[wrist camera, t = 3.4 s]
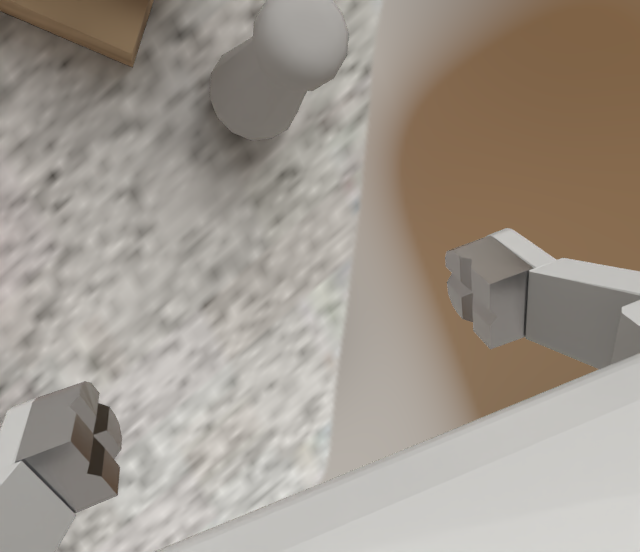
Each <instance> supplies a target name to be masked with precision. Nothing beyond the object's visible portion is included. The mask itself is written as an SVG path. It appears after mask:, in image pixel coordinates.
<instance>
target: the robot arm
mask: <svg viewBox="0 0 640 552" xmlns="http://www.w3.org/2000/svg"><path fill="white" fill-rule="evenodd" d="M445 260H446V267H447V268H448V269H449V270H450V271H451V272H452V274H451V276H450V278H449V279H448V282H447V285H448V294H449V297H450V300H451V303H452V305H453V307H454V308H455V310H456V312H457V313H458V314H459V315H460V316H461V318H462V319H465V320H468V321H471V322H473V329H474V332H475V333H476V334H477V335H478V336H479V337H480V339H482V341H483V342H484V343H485V344H486V345H487V346H488V347H489V348H490V349H493V348H495V347H498V346H501V345H504V344H506V343H509V342H512V341H515V340H517V339H520V338H523V337H526V339H528V340H530V341H533V342H535V343H538V344H540V345H542V346H545V347H547V348H550V349H552V350H554V351H557V352H559V353H562V354H564V355H567V356H569V357H571V358H574V359H576V360H579V361H581V362H583V363H586V364H588V365H591V366H593V367H596V368H598V369H599V370H597V371H595V372H592V373H589V374H587V375H584V376H582V377H580V378H577V379H575V380H573V381H570V382H567V383H565V384H563V385H560V386H558V387H555V388H553V389H550V390H548V391H545V392H543V393H541V394H538V395H536V396H533V397H531V398H528V399H526V400H523V401H521V402H519V403H516V404H514V405H511V406H509V407H506V408H504V409H501V410H499V411H497V412H494V413H492V414H489V415H487V416H484V417H482V418H479V419H477V420H475V421H472V422H470V423H467V424H465V425H462V426H460V427H457V428H455V429H453V430H451V431H448V432H445V433H443V434H440V435H438V436H436V437H433V438H431V439H428V440H426V441H423V442H421V443H419V444H416V445H413V446H411V447H409V448H406V449H404V450H401V451H399V452H396V453H394V454H392V455H389V456H387V457H384V458H382V459H379V460H377V461H374V462H372V463H369V464H367V465H365V466H362V467H360V468H357V469H355V470H352V471H350V472H348V473H345V474H343V475H340V476H338V477H335V478H333V479H330V480H328V481H326V482H323V483H321V484H318V485H316V486H313V487H311V488H308V489H306V490H304V491H301V492H299V493H296V494H294V495H291V496H289V497H286V498H284V499H282V500H279V501H277V502H274V503H272V504H269V505H267V506H264V507H262V508H260V509H257V510H255V511H252V512H250V513H247V514H245V515H243V516H240V517H238V518H235V519H233V520H230V521H228V522H225V523H223V524H221V525H218V526H216V527H213V528H211V529H208V530H206V531H203V532H201V533H199V534H196V535H194V536H191V537H189V538H186V539H184V540H181V541H179V542H177V543H174V544H172V545H169V546H167V547H164V548H162V549H160V550H157V551H155V552H640V272H638V271H633V270H627V269H622V268H616V267H611V266H605V265H599V264H594V263H588V262H583V261H577V260H572V259H567V258H561V259H559V260H556V259H555V258H553V257H551V256H550V255H549V254H547V253H546V252H544V251H543V250H542V249H540V248H539V247H537V246H536V245H534V244H533V243H531V242H530V241H529V240H527V239H526V238H524V237H523V236H521V235H520V234H518V233H517V232H516V231H514V230H512V229H509V228H506V229H503V230H500V231H498V232H495V233H493V234H490V235H488V236H486V237H485V238H482V239H479V240H476V241H473V242H471V243H468V244H465V245H462V246H460V247H457V248H455V249H452V250H449V251H447V253H446V257H445ZM98 399H99V392H98V391H97V390H96V388H95V387H94V386H93V385H92V383H90V382H82V383H79V384H76V385H73V386H70V387H67V388H64V389H61V390H58V391H55V392H52V393H49V394H46V395H43V396H40V397H38V398H36V399H32V400H29V401H27V402H24V403H21V404H18V405H15V406H13V407H12V408H10V409H9V410H8V411H7V413H6V415H5V418H4V421H3V424H2V427H1V430H0V552H56V550H57V548H58V546H59V545H60V543H61V541H62V539H63V538H64V536H65V534H66V532H67V531H68V529H69V527H70V525H71V524H72V522H73V520H74V518H75V516H76V514H75V513H77V512H79V511H82V510H84V509H86V508H89V507H91V506H93V505H96V504H98V503H101V502H103V501H105V500H108V499H110V498H112V497H115V496H117V495H118V484H119V472H120V467H119V465H118V464H117V463H116V461H115V460H114V459H115V457H116V456H117V454H118V453H119V452H120V450H121V445H122V435H121V430H120V425H119V422H118V420H117V418H116V416H115V414H114V413H113V411H112V410H111V408H110V407H108V406H106V405H103V404H100V403H98Z"/></svg>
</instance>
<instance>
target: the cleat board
mask: <svg viewBox="0 0 640 552" xmlns="http://www.w3.org/2000/svg"><path fill="white" fill-rule="evenodd" d="M153 1H154V0H0V11H2V12H4V13H6V14H9V15H11V16H13V17H16V18H18V19H20V20H23V21H25V22H27V23H30V24H32V25H34V26H37V27H39V28H41V29H44V30H46V31H48V32H51V33H53V34H55V35H58V36H60V37H62V38H65V39H67V40H69V41H72V42H74V43H77V44H79V45H81V46H84V47H86V48H88V49H91V50H93V51H95V52H98V53H100V54H102V55H105V56H107V57H109V58H112V59H114V60H116V61H119V62H121V63H123V64H126V65H128V66H130V67H133V65H134V61H135V58H136V55H137V52H138V49H139V46H140V42H141V39H142V36H143V33H144V30H145V27H146V23H147V20H148V17H149V14H150V11H151V8H152V4H153Z"/></svg>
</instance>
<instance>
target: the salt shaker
mask: <svg viewBox="0 0 640 552" xmlns="http://www.w3.org/2000/svg"><path fill="white" fill-rule="evenodd" d="M348 41H349V33H348V29H347V26H346V23H345V19H344V16H343V13H342V12H341V11H340V9H339V8H338V7H337V5H336V4H335V3H334V1H333V0H266V2H265V4H264V5H263V7H262V8H261V10H260V12H259V13H258V15H257V16H256V19H255V21H254V28H253V36H252V37H251V38H250V39H248V40H246V41H245V42H243V43H242V44H240V45H238V46H237V47H235V48H234V49H232V50H230V51H229V52H227V53H225V54H224V55H222V56H221V58H220V60H219V61H218V63H217V65H216V66H215V68H214V69H213V71H212V73H211V82H210V99H211V102H212V105H213V107H214V110H215V113H216V116H217V118H218V119H219V120H220V121H221V122H222V123H223V124H224V125H225V126H226V127H227V128H228V129H229V130H230V131H231V132H232V133H235V134H237V135H239V136H242V137H244V138H246V139H249V140H261V139H272V138H273V137H275V136H277V135H279V134H280V133H282V132H284V131H285V130H287V129H288V128H289V126H290V124H291V123H292V121H293V119H294V117H295V115H296V114H297V112H298V110H299V107H300V105H301V103H302V100H303V98H304V96H305V94H306V92H307V91H313V90H314V89H316V88H318V87H320V86H321V85H323V84H325V83H327V82H328V81H330V80H332V79H333V78H334V77H335V75H336V74H337V72H338V70H339V68H340V67H341V65H342V63H343V61H344V60H345V58H346V56H347V50H348Z"/></svg>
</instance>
